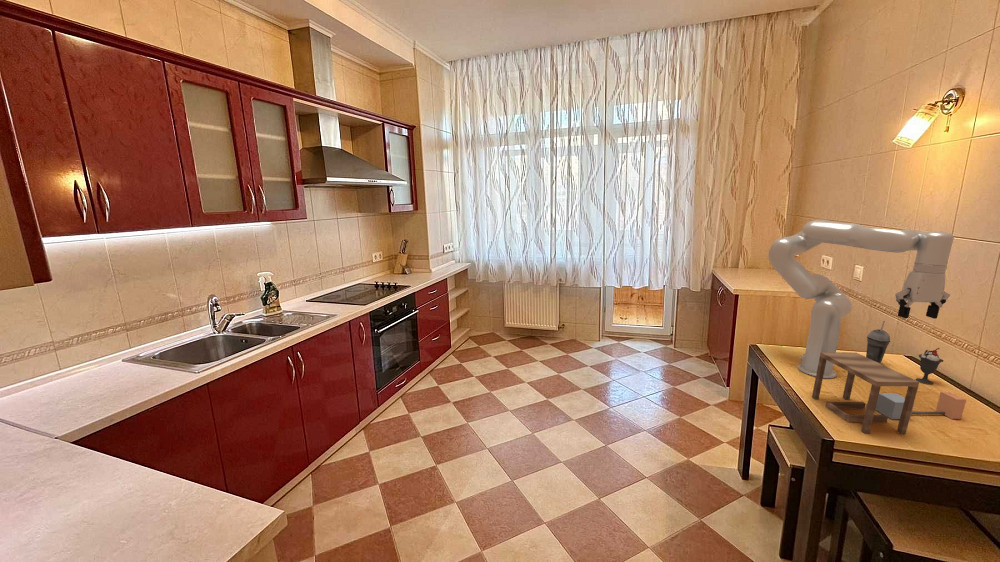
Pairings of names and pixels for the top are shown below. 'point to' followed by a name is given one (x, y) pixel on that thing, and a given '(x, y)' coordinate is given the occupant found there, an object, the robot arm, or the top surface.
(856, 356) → the wooden side table
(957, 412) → the lopsided dumbbell
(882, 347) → the beverage cup
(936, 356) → the sundae
